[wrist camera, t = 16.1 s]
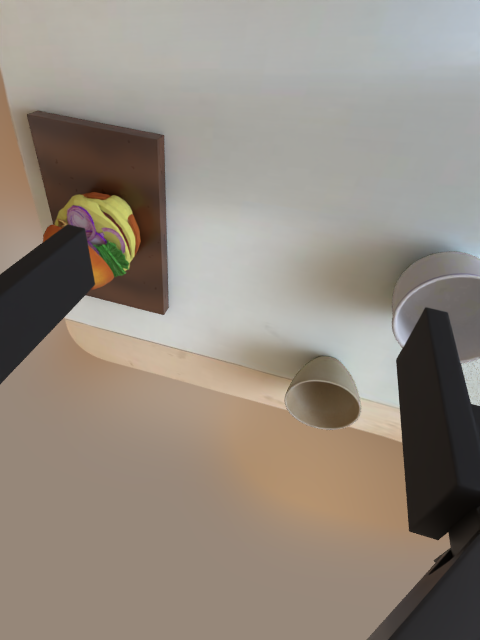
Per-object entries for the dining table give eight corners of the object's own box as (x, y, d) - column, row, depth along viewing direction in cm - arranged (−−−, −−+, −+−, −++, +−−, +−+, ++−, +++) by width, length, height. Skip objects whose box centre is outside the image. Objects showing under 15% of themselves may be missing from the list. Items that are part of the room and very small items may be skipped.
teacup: (373, 300, 47) (373, 344, 41) (420, 223, 40) (429, 262, 34) (483, 338, 46) (499, 387, 41) (551, 266, 39) (584, 314, 33)
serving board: (37, 110, 43) (26, 114, 41) (164, 135, 41) (157, 139, 39) (76, 284, 58) (69, 291, 57) (168, 307, 57) (163, 315, 55)
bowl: (357, 340, 52) (355, 380, 46) (365, 390, 57) (365, 431, 52) (285, 344, 55) (276, 381, 50) (299, 391, 61) (293, 429, 56)
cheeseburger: (164, 227, 46) (116, 283, 40) (133, 264, 54) (91, 316, 48) (91, 165, 43) (29, 217, 37) (71, 215, 51) (18, 264, 45)
